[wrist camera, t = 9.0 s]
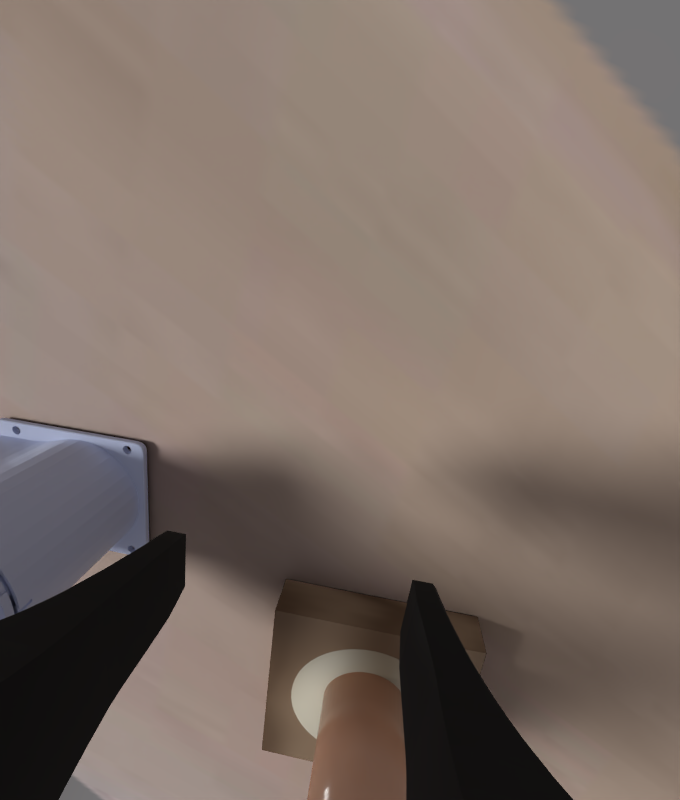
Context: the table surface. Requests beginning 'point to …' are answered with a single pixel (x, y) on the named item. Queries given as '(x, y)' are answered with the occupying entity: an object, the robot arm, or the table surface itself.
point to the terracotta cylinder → (359, 741)
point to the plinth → (333, 655)
